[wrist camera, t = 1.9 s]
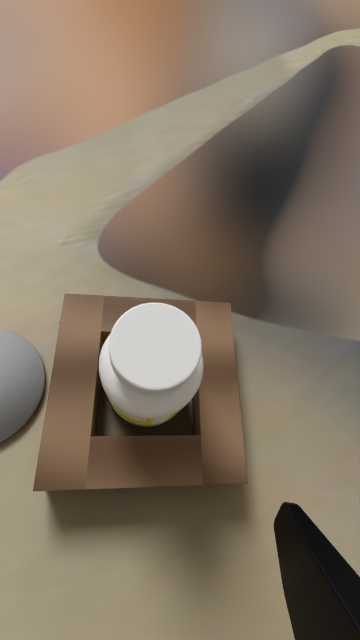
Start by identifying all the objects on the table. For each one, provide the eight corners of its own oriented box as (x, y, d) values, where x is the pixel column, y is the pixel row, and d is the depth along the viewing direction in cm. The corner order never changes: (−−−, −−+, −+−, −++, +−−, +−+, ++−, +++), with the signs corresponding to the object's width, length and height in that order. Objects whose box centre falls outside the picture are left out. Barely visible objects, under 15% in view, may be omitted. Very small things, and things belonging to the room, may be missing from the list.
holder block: (234, 479, 20) (247, 483, 17) (45, 485, 18) (32, 491, 16) (221, 316, 24) (230, 302, 22) (71, 309, 23) (64, 293, 20)
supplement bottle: (175, 347, 23) (204, 282, 14) (190, 419, 21) (234, 397, 12) (104, 358, 22) (85, 294, 13) (113, 435, 20) (97, 424, 11)
